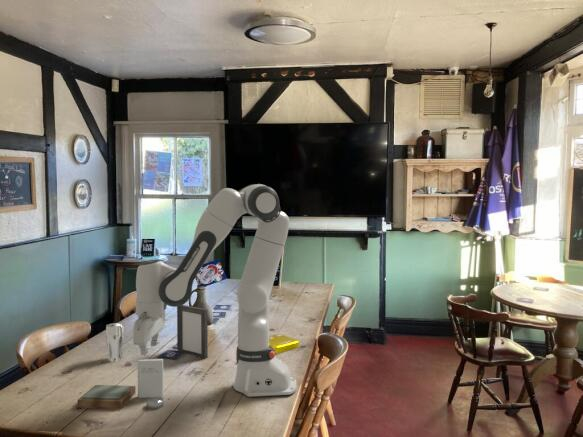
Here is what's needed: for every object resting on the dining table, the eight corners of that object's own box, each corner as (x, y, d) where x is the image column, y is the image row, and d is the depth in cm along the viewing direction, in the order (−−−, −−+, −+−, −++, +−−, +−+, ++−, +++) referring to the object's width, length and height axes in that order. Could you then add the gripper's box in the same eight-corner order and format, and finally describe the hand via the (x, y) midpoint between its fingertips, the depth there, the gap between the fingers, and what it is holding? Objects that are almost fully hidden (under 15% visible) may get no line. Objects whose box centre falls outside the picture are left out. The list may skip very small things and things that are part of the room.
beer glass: (127, 361, 195) (127, 325, 194) (111, 366, 189) (110, 328, 189) (119, 357, 199) (118, 321, 199) (103, 361, 194) (102, 325, 194)
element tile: (274, 357, 201) (274, 346, 201) (253, 349, 212) (253, 338, 212) (300, 350, 211) (301, 339, 211) (279, 342, 222) (279, 332, 222)
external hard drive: (138, 395, 161) (138, 359, 161) (163, 395, 162) (163, 358, 162) (137, 398, 160) (137, 361, 159) (162, 397, 161) (162, 360, 160)
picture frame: (177, 353, 204) (177, 305, 203) (180, 352, 206) (180, 304, 205) (204, 361, 196) (204, 310, 195) (208, 359, 197) (208, 309, 196)
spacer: (165, 403, 156) (165, 397, 156) (160, 410, 151) (160, 404, 151) (150, 403, 156) (150, 397, 156) (144, 409, 151) (144, 403, 151)
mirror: (135, 393, 163) (135, 384, 163) (120, 409, 151) (120, 399, 151) (95, 392, 164) (95, 383, 164) (77, 407, 152) (77, 398, 152)
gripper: (147, 317, 149) (147, 360, 150) (168, 302, 169) (168, 341, 170) (127, 316, 149) (127, 360, 150) (150, 301, 170) (150, 340, 170)
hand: (149, 349), depth 160 cm, fingers open, 8 cm apart
